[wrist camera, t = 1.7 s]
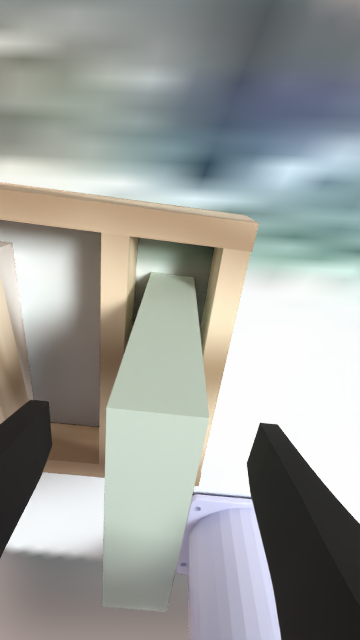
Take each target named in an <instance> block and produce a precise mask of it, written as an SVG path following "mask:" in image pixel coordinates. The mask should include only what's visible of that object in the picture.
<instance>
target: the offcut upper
mask: <svg viewBox="0 0 360 640" xmlns="http://www.w3.org/2000/svg"><path fill="white" fill-rule="evenodd" d="M27 402H28V397H27V392H26V388H25V383H24V379H23V374H22V370H21V365H20V361H19V356H18V352H17V348H16V343H15V339H14V334H13V330H12V325H11V321H10V316H9V312H8V307H7V303H6V298H5V294H4V290H3V285H2V281H1V276H0V424H1V423H2V422H3V421H5V420H6V419H7V418H8V417H9V416H11V415H12V414H13V413H14V412H16V411H17V410H18V409H19V408H20V407H22V406H23V405H24V404H25V403H27Z"/></svg>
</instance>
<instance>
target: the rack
mask: <svg viewBox="0 0 360 640" xmlns="http://www.w3.org/2000/svg"><path fill="white" fill-rule="evenodd" d="M0 220H7V221H15V222H23V223H30V224H38V225H46V226H54V227H62V228H69V229H77V230H85V231H93V232H101V310H100V411H99V427H90V426H80V425H70V424H59V423H50V424H51V435H52V448H51V451H50V454H49V456H48V459H47V462H46V465H45V467H44V470H43V472H48V473H59V474H70V475H81V476H92V477H103V478H105V449H106V408H107V405H108V401H109V398H110V395H111V392H112V389H113V386H114V383H115V380H116V377H117V374H118V371H119V368H120V365H121V362H122V359H123V356H124V353H125V350H126V347H127V344H128V341H129V338H130V335H131V332H132V327H133V311H134V295H135V279H136V263H137V247H138V237H140V238H147V239H155V240H163V241H171V242H179V243H186V244H194V245H202V246H210V247H215V248H214V253H213V259H212V265H211V271H210V276H209V282H208V288H207V294H206V299H205V305H204V311H203V317H202V322H201V328H200V336H201V346H202V355H203V364H204V373H205V382H206V392H207V401H208V410H209V422H208V427H207V431H206V436H205V440H204V445H203V449H202V454H201V458H200V463H199V467H198V472H197V476H196V481H195V485H194V486H198V485H199V481H200V477H201V468H202V464H203V459H204V455H205V450H206V446H207V442H208V437H209V433H210V428H211V424H212V420H213V415H214V411H215V407H216V402H217V398H218V393H219V389H220V385H221V380H222V376H223V371H224V367H225V363H226V358H227V354H228V349H229V345H230V341H231V336H232V332H233V327H234V323H235V319H236V314H237V310H238V305H239V301H240V297H241V292H242V288H243V284H244V279H245V275H246V270H247V266H248V262H249V257H250V253H251V252H252V250H253V246H254V241H255V237H256V233H257V228H258V224H259V223H257V222H256V221H254V220H252V219H251V218H249V217H248V216H246V215H241V214H234V213H226V212H219V211H211V210H204V209H196V208H189V207H181V206H174V205H166V204H159V203H151V202H144V201H137V200H129V199H122V198H114V197H107V196H99V195H92V194H84V193H77V192H69V191H62V190H54V189H47V188H39V187H32V186H24V185H17V184H9V183H2V182H0Z"/></svg>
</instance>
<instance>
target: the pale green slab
mask: <svg viewBox="0 0 360 640" xmlns="http://www.w3.org/2000/svg"><path fill="white" fill-rule="evenodd" d="M208 422H209V410H208V401H207V392H206V382H205V373H204V364H203V355H202V346H201V336H200V327H199V318H198V309H197V300H196V291H195V281H194V277H188V276H180V275H172V274H163V273H155V272H151V274H150V277H149V280H148V283H147V286H146V289H145V293H144V296H143V299H142V302H141V305H140V308H139V311H138V314H137V317H136V320H135V323H134V326H133V329H132V332H131V335H130V338H129V341H128V344H127V347H126V350H125V353H124V356H123V359H122V362H121V365H120V368H119V371H118V374H117V377H116V380H115V383H114V386H113V389H112V392H111V395H110V398H109V401H108V405H107V408H106V449H105V493H104V538H103V582H102V583H103V584H102V607H108V608H109V607H110V608H123V609H136V610H150V611H165V612H166V611H167V608H168V603H169V598H170V594H171V589H172V585H173V580H174V576H175V571H176V567H177V562H178V558H179V553H180V549H181V544H182V540H183V535H184V531H185V526H186V522H187V517H188V513H189V508H190V504H191V499H192V495H193V490H194V485H195V481H196V476H197V472H198V467H199V463H200V458H201V454H202V449H203V445H204V440H205V436H206V431H207V427H208Z"/></svg>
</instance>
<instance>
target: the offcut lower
mask: <svg viewBox="0 0 360 640" xmlns="http://www.w3.org/2000/svg"><path fill="white" fill-rule="evenodd" d="M0 276H1V281H2V285H3V290H4V294H5V298H6V303H7V307H8V312H9V316H10V321H11V325H12V330H13V334H14V339H15V343H16V348H17V352H18V356H19V361H20V365H21V370H22V374H23V379H24V383H25V388H26V392H27V397H28V401H29V400H34V399H33V392H32V384H31V377H30V370H29V362H28V355H27V347H26V340H25V333H24V325H23V318H22V311H21V303H20V296H19V289H18V281H17V274H16V267H15V259H14V252H13V245H12V243H10V242H1V241H0Z"/></svg>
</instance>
